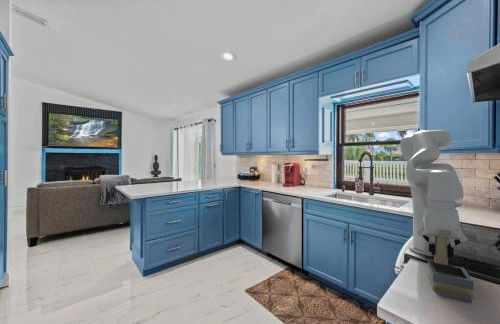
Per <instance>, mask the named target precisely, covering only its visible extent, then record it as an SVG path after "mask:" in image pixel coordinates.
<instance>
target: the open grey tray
mask: <svg viewBox="0 0 500 324" xmlns="http://www.w3.org/2000/svg"><path fill="white" fill-rule="evenodd" d="M427 266H428V267H427V277H428V279H429V282H430V285H431V288H432V290H433V291H436V292H437V294H438V296H439V297H442V298H443V297H444V298H447V299H450V300H451V299H452V300H456V301H460V302H464V303H468V304H473V300H474V299H475V298H474V296H475V295H474V294H475V293H474V292H475V291H474V289H475V288H474V287H475V285H474V284H475V283H474V279H472V277H471V275H469V273H468V271H467V270H466V268H465V267H462V266H458V265H457V266H455V265H451V264H448V265H446V264H441V263H435V262H434V261H429V260H428V261H427Z"/></svg>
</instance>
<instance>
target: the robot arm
mask: <svg viewBox="0 0 500 324" xmlns="http://www.w3.org/2000/svg"><path fill="white" fill-rule="evenodd" d="M452 142H453V137H452V134H451V133H450V131H448V130H447V129H428V130H426V129H425V130H418V131H415V133H413V134H409V135H405V136H403V137H402V138H401V139H400V141H399V143H400V152H401V155H403V156H402V157H403V158H404V160H405V161H406V167H405V172H406V177H407V182H408V184H409V185H410V194H411V200H412V224H413V225H412V243H411V244H409V245H408V249H409V250H410V251H412V252H413V251H414V252H413V253H417V254H419V255H422V254H423V255H422V256H427V257H433V256H434V255H435V245H434V244H435V236H436V237H444V238H447V246H448V259H451V260H452V259H453V257H454V255H455V253H454V252H455V247H457V246H458V245H460V244H461V243H465V242H467V241H468V239H469V238H468V237H466V235H465V233H464V232H463V231H462V229H461V222H460V215H459V211H458V209H456V208H458V207H459V208H461V207H462V205H461V203H460V202H462V200H463V199H464V189H463V186H462V183H461V181H460V178H459V176H458V174H457V171H456V169H455V168H454V166H453V165H451V164H449V163H445V162H444V163H442V162H439V163H438V162H436V161H437V160H438V159H439V158H440V157H441V156H440V155H441V152H440V151H442V150H446V149H448V148H450V147H451V145H452V144H453V143H452ZM439 230H446V231H451V234H450V235H441V234H438V233H439Z"/></svg>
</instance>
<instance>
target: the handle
mask: <svg viewBox="0 0 500 324" xmlns="http://www.w3.org/2000/svg"><path fill="white" fill-rule="evenodd" d="M438 234H441V235H450V234H451V231H446V230H439V233H438ZM434 245H435V255H434V257H433V262H435V263H441V264H446V265H449V257H448V246H447V245H448V238H444V237H436V236H435V244H434Z"/></svg>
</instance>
